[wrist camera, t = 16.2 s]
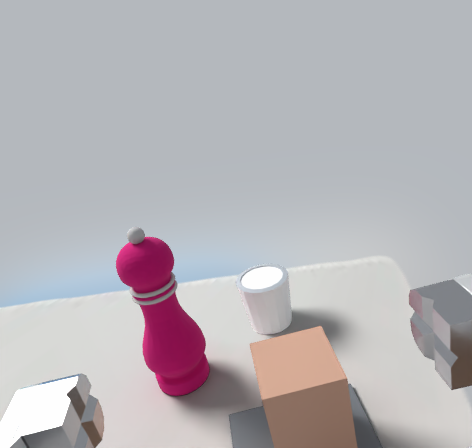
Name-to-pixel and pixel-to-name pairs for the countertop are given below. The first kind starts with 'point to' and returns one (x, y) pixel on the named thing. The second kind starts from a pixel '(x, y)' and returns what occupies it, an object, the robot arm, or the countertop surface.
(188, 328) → the pepper mill
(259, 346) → the tan rectangular block
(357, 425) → the mat
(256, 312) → the white cup
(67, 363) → the countertop surface
